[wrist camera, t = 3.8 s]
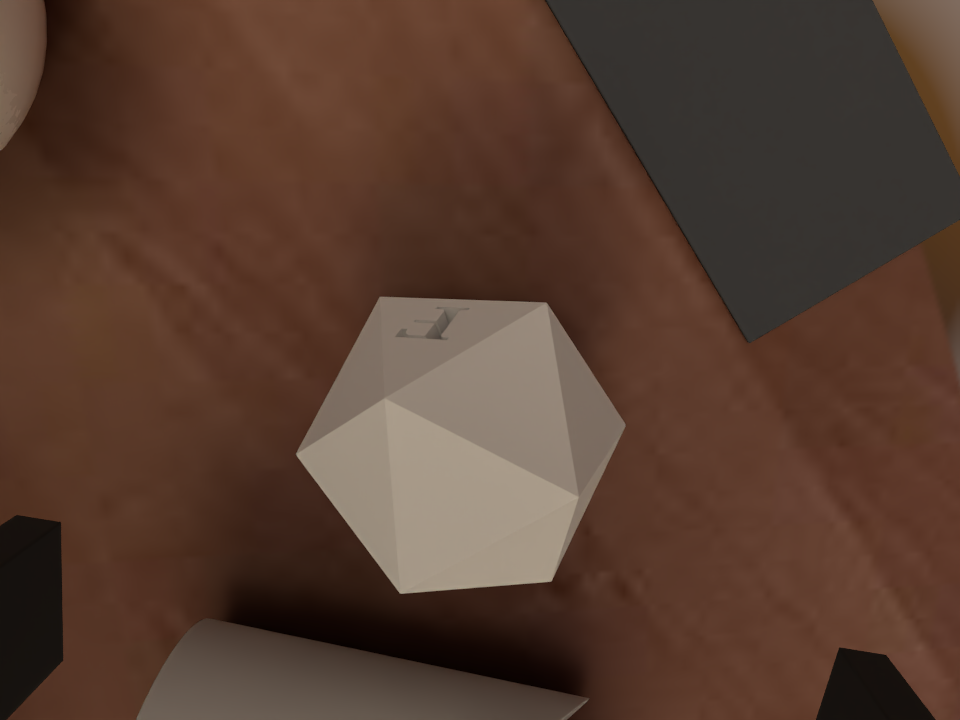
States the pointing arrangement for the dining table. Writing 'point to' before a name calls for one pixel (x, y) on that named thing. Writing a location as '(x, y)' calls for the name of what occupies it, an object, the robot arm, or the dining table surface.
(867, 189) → the edge mat
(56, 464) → the dining table surface
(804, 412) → the dining table surface
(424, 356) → the die
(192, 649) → the bent grey cylinder
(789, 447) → the dining table surface
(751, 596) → the dining table surface
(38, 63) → the cork-lidded white jar
